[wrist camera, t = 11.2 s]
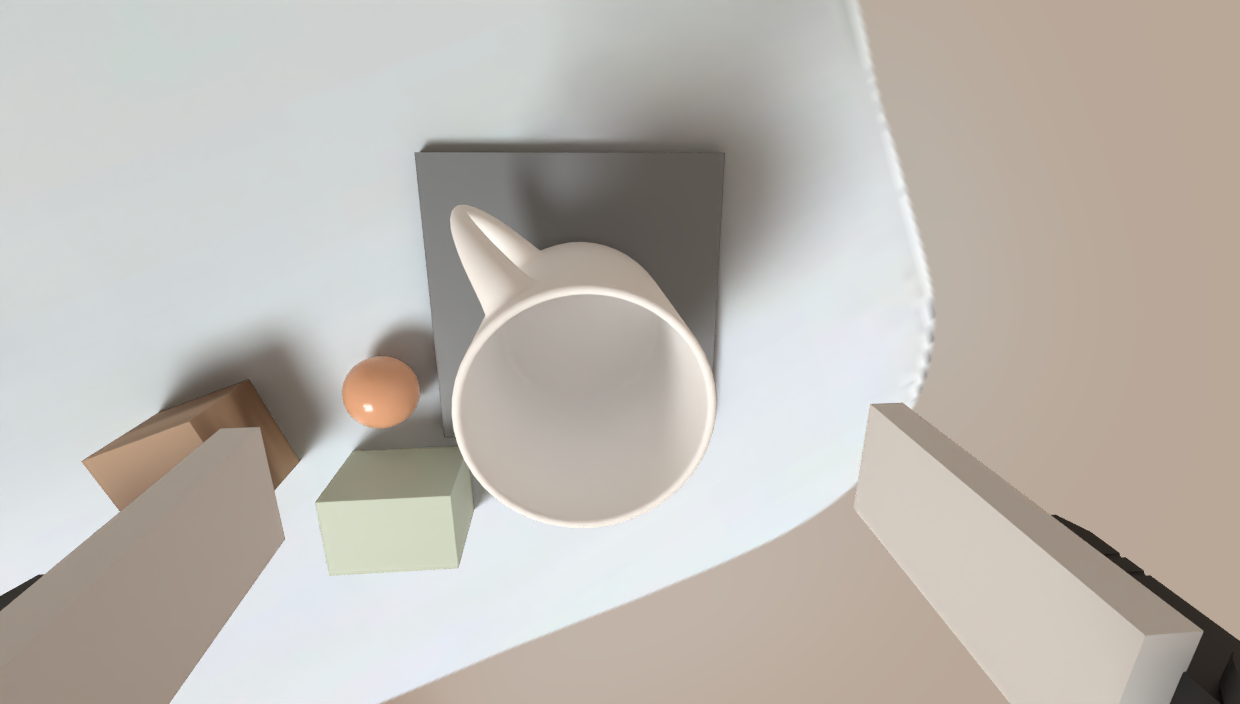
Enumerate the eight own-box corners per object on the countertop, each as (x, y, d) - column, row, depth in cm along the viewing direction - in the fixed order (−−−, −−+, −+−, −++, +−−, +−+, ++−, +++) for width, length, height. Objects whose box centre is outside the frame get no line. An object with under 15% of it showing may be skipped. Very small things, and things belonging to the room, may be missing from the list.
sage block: (353, 450, 31) (315, 502, 26) (468, 445, 32) (450, 495, 27) (364, 514, 32) (329, 575, 28) (474, 508, 33) (458, 568, 28)
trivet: (418, 152, 27) (414, 152, 26) (720, 152, 28) (724, 152, 27) (447, 430, 31) (444, 437, 30) (706, 421, 32) (709, 427, 31)
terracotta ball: (351, 347, 29) (324, 372, 26) (423, 345, 30) (405, 369, 26) (361, 411, 30) (336, 442, 27) (430, 409, 31) (413, 439, 27)
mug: (554, 137, 26) (547, 125, 16) (697, 342, 30) (765, 437, 20) (406, 250, 27) (311, 306, 17) (562, 435, 31) (560, 571, 21)
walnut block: (158, 412, 30) (81, 461, 25) (249, 378, 29) (189, 421, 25) (214, 491, 31) (151, 552, 26) (300, 460, 31) (252, 515, 26)
